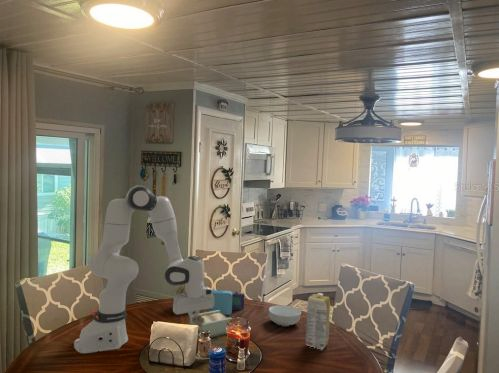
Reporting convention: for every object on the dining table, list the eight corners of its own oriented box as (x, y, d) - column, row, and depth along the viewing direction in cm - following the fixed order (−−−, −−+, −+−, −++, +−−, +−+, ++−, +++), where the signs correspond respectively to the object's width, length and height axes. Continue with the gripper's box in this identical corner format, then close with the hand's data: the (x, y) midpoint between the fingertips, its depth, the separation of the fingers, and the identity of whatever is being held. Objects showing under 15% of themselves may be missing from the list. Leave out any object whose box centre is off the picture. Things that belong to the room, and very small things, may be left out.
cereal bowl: (306, 328, 202) (307, 314, 201) (276, 331, 196) (277, 317, 195) (290, 316, 217) (291, 303, 217) (263, 319, 211) (263, 306, 211)
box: (202, 339, 183) (202, 324, 183) (189, 329, 194) (190, 315, 194) (231, 332, 192) (232, 318, 192) (218, 323, 203) (218, 309, 203)
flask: (227, 309, 224) (228, 290, 223) (227, 307, 226) (228, 289, 226) (243, 310, 224) (244, 291, 223) (243, 308, 227) (244, 289, 226)
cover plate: (201, 327, 185) (202, 319, 185) (192, 320, 193) (193, 313, 193) (229, 321, 193) (229, 314, 193) (219, 315, 201) (219, 308, 201)
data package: (231, 312, 219) (232, 290, 219) (231, 315, 215) (232, 293, 214) (209, 311, 219) (210, 290, 219) (209, 314, 215) (209, 292, 214)
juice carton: (329, 345, 182) (331, 294, 181) (323, 352, 175) (325, 298, 174) (310, 340, 187) (312, 290, 186) (303, 346, 180) (306, 294, 179)
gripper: (176, 296, 178) (175, 326, 179) (216, 289, 190) (215, 318, 191) (171, 292, 184) (170, 321, 184) (209, 286, 195) (209, 313, 196)
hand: (193, 319), depth 188 cm, fingers closed
